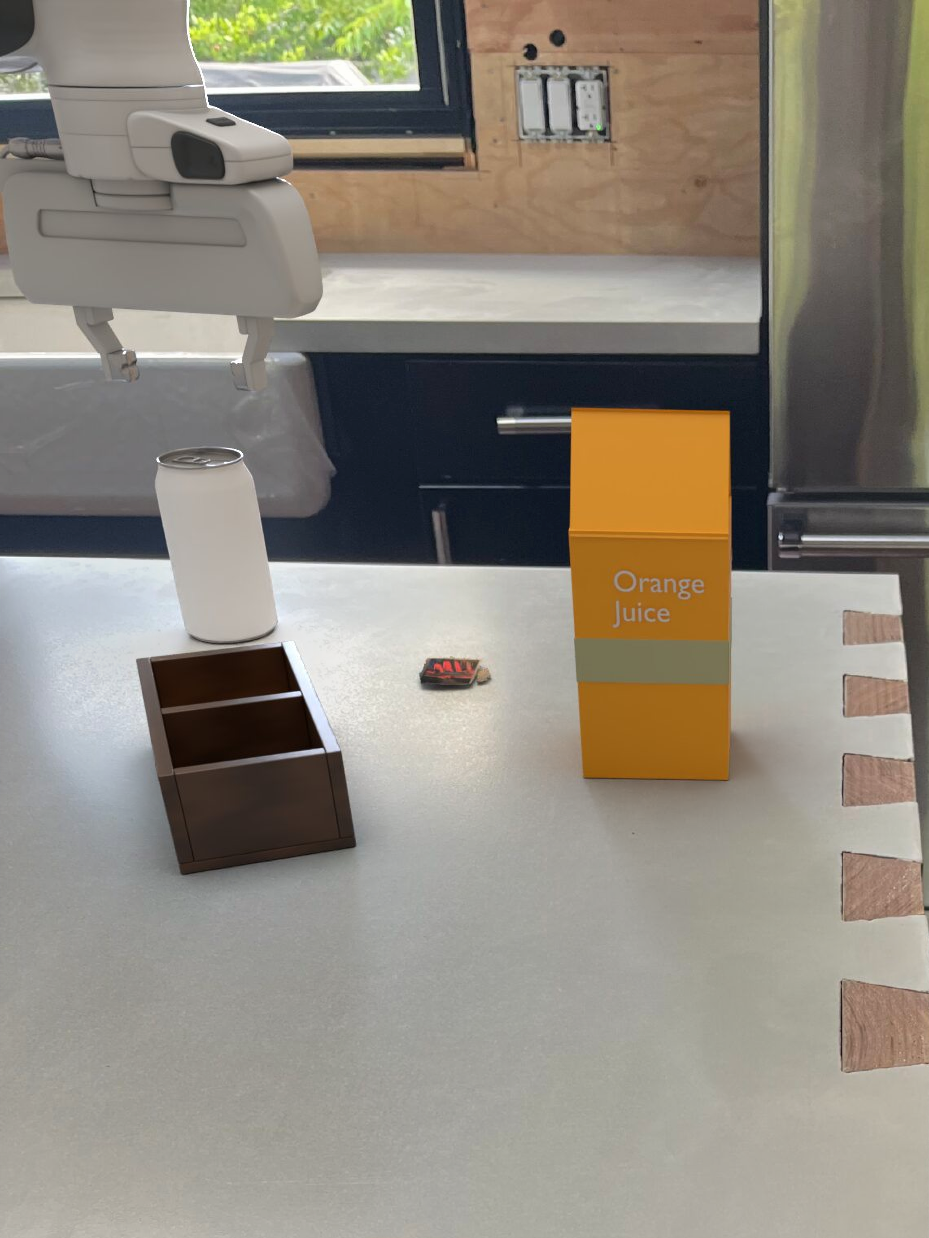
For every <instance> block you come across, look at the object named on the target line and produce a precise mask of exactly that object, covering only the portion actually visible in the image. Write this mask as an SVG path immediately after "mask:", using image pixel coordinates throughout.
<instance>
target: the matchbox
mask: <svg viewBox="0 0 929 1238" xmlns="http://www.w3.org/2000/svg"><path fill="white" fill-rule="evenodd" d="M482 662H483V659H482V658H480V659H479V658H470V657H467V658H466V657H454V656H452V655H450V656H449V657H426V659H425V661H424V663H423V667H422V670H421V671H420V672H419V673H418V676H419V681H420V684H426V685H427V684H428V685H433V686H434V685H448V686H459V685H461V686H462V685H471V684H472V683H473V681H474V680H475V677H476V680H475V683H482V682H487V681H488V680H489V679H491V677H492V675H491V673H490V670H489V668H488V667H485V668H483V669H481V663H482ZM480 669H481V670H480Z"/></svg>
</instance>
